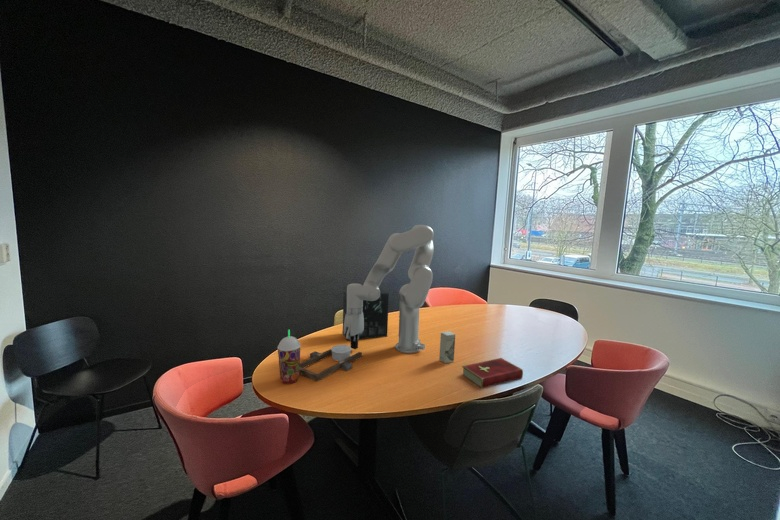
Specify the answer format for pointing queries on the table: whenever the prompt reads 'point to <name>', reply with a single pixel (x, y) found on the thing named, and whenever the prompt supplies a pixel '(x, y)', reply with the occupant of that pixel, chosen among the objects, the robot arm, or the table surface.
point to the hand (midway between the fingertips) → (354, 348)
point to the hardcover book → (492, 372)
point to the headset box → (372, 316)
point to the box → (447, 347)
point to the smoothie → (289, 359)
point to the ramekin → (341, 352)
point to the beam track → (341, 364)
